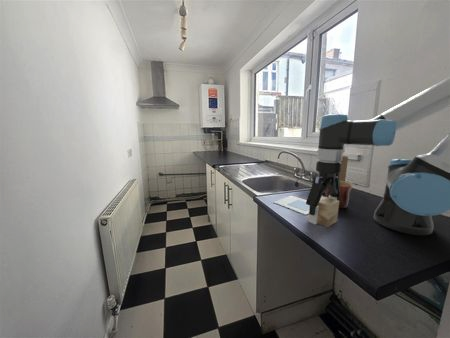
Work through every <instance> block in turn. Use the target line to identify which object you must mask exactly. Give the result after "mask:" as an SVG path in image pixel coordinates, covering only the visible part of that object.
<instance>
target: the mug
mask: <svg viewBox="0 0 450 338" xmlns="http://www.w3.org/2000/svg"><path fill="white" fill-rule="evenodd" d="M339 183H340V194H339V195H340V197H337V200H338V201H339V208H338V209H346V208H347V207H348V205H349V201H350V193H351V190H352V188H353V185H354V184H352V183H350V182H347V181H345V182H343V181H339ZM329 196H331V195H330V193H329V190H328V188H327V190H326V194H325V197H327V198H329Z"/></svg>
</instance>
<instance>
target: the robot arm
mask: <svg viewBox="0 0 450 338" xmlns="http://www.w3.org/2000/svg"><path fill="white" fill-rule="evenodd" d="M449 107H450V76H448V77H447V78H444V79H443V80H441V81H439V82H438V83H436V84H434V85H432V86H430V87H428V88H427V89H424V90H423V91H421V92H419V93H417V94H415V95H414V96H411V97H409V98H407V100H404V101H403V102H401V103H399V104H396V105H395V106H393V107H391V108H389V109H388V110H386V111H384V112H382V113H380V114H379V115H377V116H375V117H373V118H371V119H365V120H363V119H362V120H361V119H360V120H351V119H350V120H349V117H348V114H346V113H344V114H343V113H340V114H339V113H338V114H336V113H335V114H334V113H332V114H325V115H323V116H322V117H321V123H320V127H319V136H318V137H319V138H318V148H317V150H316V153H317V156H316V157H317V161H316V163H315V164H316V166H315V170H316V172H318V175H319V177H318V176H314V177H313V179H312V180H313V181H312V185H311V188H310V190H309V193H308V196H307V198H306V200H307V201H306V204H307V205H310V208H309V214H308V220H307V222H309V223H311V224H312V225H317V224H318V223H317V217H318V208H319V206H317V205H318V203H319V201H320V199H321V197H322V196H323V194H325V193H324V191H325V190H327V188H328V190H329V193H330V195H331V196H329V198H331V199H334V200H337V197H340V195H339V194H340V183H339V173H340V170H341V162H340V161H342V157H343V155H344V154H343V153H344V147H345V146H344V145H357V146H358V145H359V146H373V147H374V146H375V147H386V146H387V147H388V146H392V144H393V143H394V141H395V137H396V133H397V132H398V131H400V130H403V129H405V128H406V127H407V128H408V127H409V126H411V125H413V124H415V123H417V122H420V121H422V120H424V119H426V118H428V117H430V116H433V115H434V114H436V113H439V112H440V111H443V110H445V109H447V108H449ZM387 169H388V171H387V175H386V181H385V186H384V192H383V198H382V200H381V201H380V203H379V205H378V206H377V207H376V209H375V210H374V213H373V220H374V221H375V222H376V223H377V224H378V225H381V226H383V227H385V228H388V229H389V230H393V231H395V232H399V233H402V234H408V235H413V236H431V235H432V234H433V231H434V228H435V226H434V221H433V216H438V215H443V214H445V213H448V212H449V211H450V132H449V133H448V134H447V135H446V136H445V137H444V138H443V139H442V140H441V141H440V142H439V143H438V144H437V145H436V146H434V147H433V148H432V149H431V151H429V152H428V153H425V154H423V153H422V154H416V156H415V157H414V158H413V159H404V158H403V159H401V158H393V159H391V160H390V161H389V164H388V166H387ZM319 173H320V174H319Z"/></svg>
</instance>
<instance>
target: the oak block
mask: <svg viewBox="0 0 450 338" xmlns="http://www.w3.org/2000/svg"><path fill="white" fill-rule="evenodd" d="M317 206H319V208H318V217H317V224H318V223H319V224H318V225H321V226H324V227H326V228H329V227H330V226H332V225H334V224H335V223H337V221H338V216H339V209H340V208H339V201H338V200H334V199H331V198H327V197H326V196H323V195H322V197H321V199H320V201H319V203H318V205H317Z"/></svg>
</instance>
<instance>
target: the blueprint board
mask: <svg viewBox="0 0 450 338" xmlns="http://www.w3.org/2000/svg"><path fill="white" fill-rule="evenodd" d="M306 201H307V199H305V198H300V197H298V196H294V195H289V196H287V197H283V198H280V199H277V200H276V201H273V204H275V205H278V206H280V205H281V206H280V207H283V206H284V207H283V208H286V209H288V208H289V210H291V211H293V210H294V212H297V213H298V214H301V215H304V216H307V215H309V208H310V205H307V204H306Z"/></svg>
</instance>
